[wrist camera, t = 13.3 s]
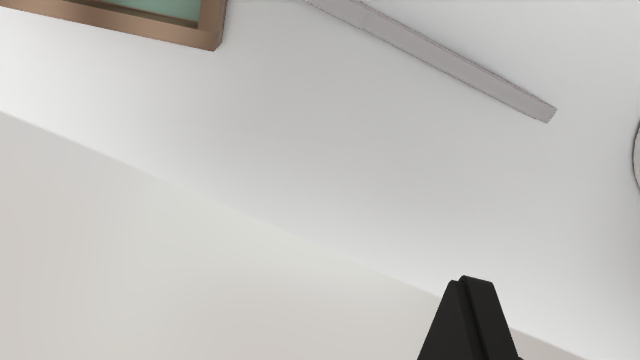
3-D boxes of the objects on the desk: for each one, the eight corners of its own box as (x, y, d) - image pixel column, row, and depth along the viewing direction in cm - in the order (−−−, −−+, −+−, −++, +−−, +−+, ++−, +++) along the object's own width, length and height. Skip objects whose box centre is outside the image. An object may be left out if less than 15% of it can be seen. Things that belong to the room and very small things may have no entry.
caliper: (240, -48, 31) (218, -39, 26) (248, -67, 31) (228, -63, 25) (544, 121, 35) (585, 162, 29) (555, 106, 35) (599, 145, 29)
